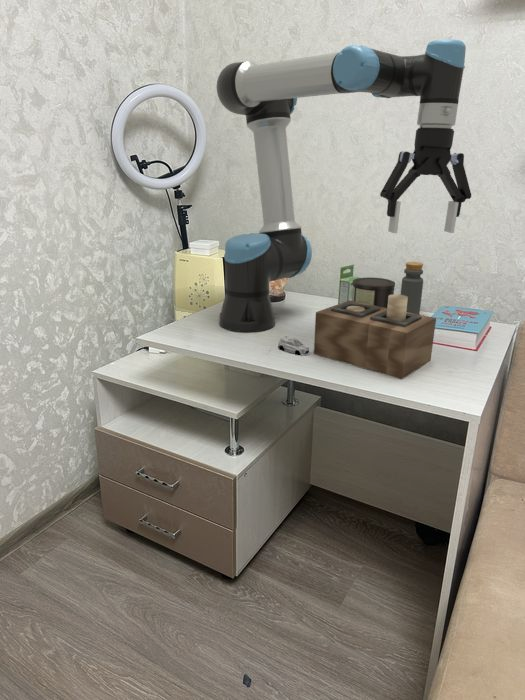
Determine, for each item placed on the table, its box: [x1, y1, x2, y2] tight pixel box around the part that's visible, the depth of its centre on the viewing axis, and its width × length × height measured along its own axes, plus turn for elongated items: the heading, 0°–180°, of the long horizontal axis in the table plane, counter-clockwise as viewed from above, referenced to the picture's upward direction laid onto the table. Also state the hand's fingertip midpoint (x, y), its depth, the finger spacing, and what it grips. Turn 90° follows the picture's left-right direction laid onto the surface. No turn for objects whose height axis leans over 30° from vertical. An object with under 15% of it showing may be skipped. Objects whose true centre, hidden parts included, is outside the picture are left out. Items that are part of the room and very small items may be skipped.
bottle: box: [400, 261, 424, 315], centre depth 150 cm, size 6×6×15 cm
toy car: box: [277, 335, 311, 356], centre depth 123 cm, size 4×8×3 cm, turn 49°
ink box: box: [337, 264, 361, 305], centre depth 152 cm, size 7×4×13 cm, turn 136°
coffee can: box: [352, 276, 396, 308], centre depth 132 cm, size 10×10×14 cm
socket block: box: [313, 300, 437, 380], centre depth 118 cm, size 22×14×11 cm, turn 49°
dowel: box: [386, 293, 408, 322], centre depth 113 cm, size 4×4×9 cm
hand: (421, 232), depth 116 cm, fingers open, 13 cm apart
